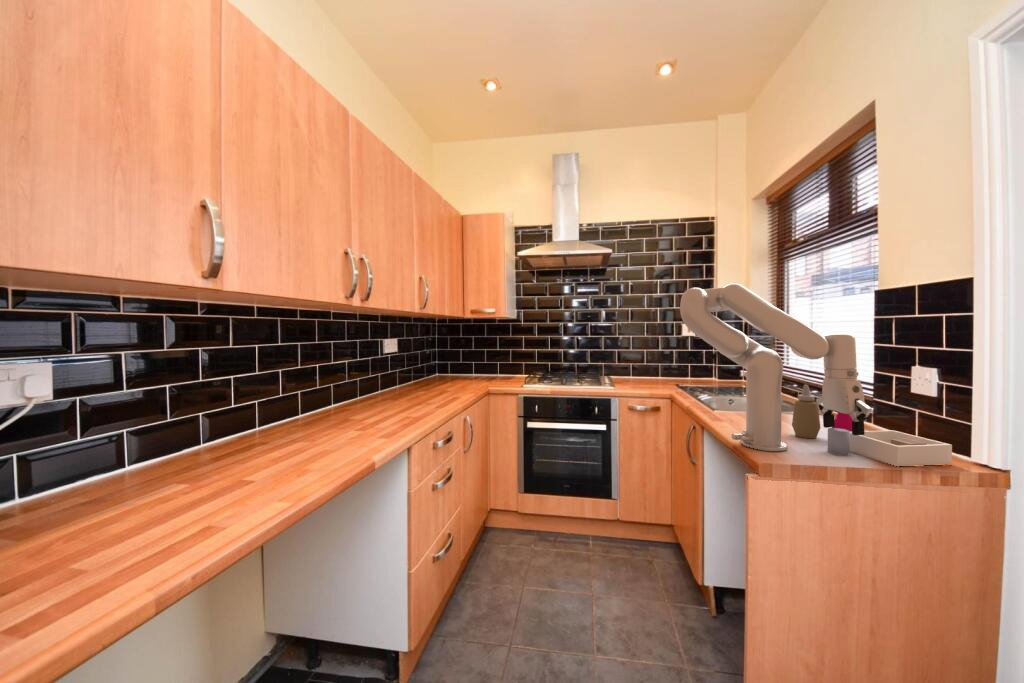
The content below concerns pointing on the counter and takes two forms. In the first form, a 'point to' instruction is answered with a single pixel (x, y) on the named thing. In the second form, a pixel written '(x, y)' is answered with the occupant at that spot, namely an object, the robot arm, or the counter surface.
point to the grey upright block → (838, 441)
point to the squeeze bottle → (806, 415)
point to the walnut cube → (906, 442)
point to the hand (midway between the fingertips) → (843, 430)
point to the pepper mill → (843, 421)
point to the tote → (900, 449)
